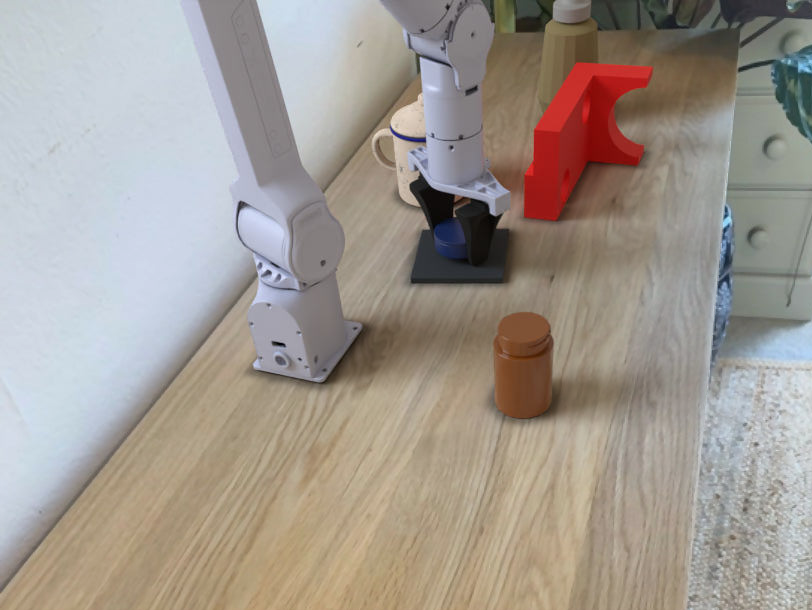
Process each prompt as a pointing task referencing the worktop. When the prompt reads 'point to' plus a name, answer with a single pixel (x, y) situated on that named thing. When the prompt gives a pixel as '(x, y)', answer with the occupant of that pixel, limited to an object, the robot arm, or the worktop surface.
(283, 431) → the worktop surface
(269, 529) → the worktop surface
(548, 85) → the squeeze bottle
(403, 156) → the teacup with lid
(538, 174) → the bracket
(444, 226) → the jar lid
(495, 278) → the coaster
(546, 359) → the jar
